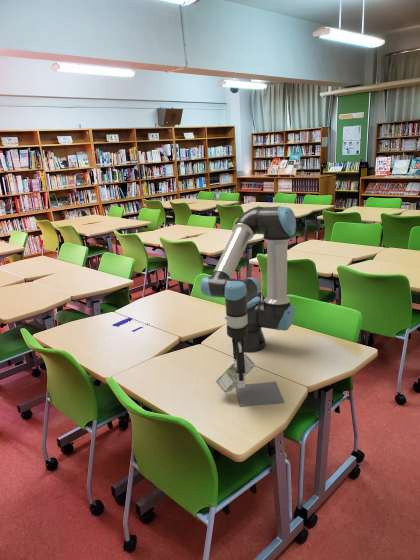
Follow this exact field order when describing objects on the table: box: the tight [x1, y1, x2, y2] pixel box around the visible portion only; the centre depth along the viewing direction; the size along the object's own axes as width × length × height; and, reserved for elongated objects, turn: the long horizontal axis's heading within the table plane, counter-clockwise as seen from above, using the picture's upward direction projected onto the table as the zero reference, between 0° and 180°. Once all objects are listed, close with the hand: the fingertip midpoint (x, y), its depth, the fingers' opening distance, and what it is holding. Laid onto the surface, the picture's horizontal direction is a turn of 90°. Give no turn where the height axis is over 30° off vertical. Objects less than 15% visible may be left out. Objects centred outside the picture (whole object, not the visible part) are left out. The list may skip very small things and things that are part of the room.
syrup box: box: [215, 353, 256, 394], centre depth 155 cm, size 6×6×14 cm
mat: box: [234, 381, 285, 407], centre depth 158 cm, size 14×16×1 cm
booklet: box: [112, 317, 149, 333], centre depth 230 cm, size 12×25×1 cm, turn 52°
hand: (239, 381), depth 156 cm, fingers closed on syrup box, 8 cm apart
